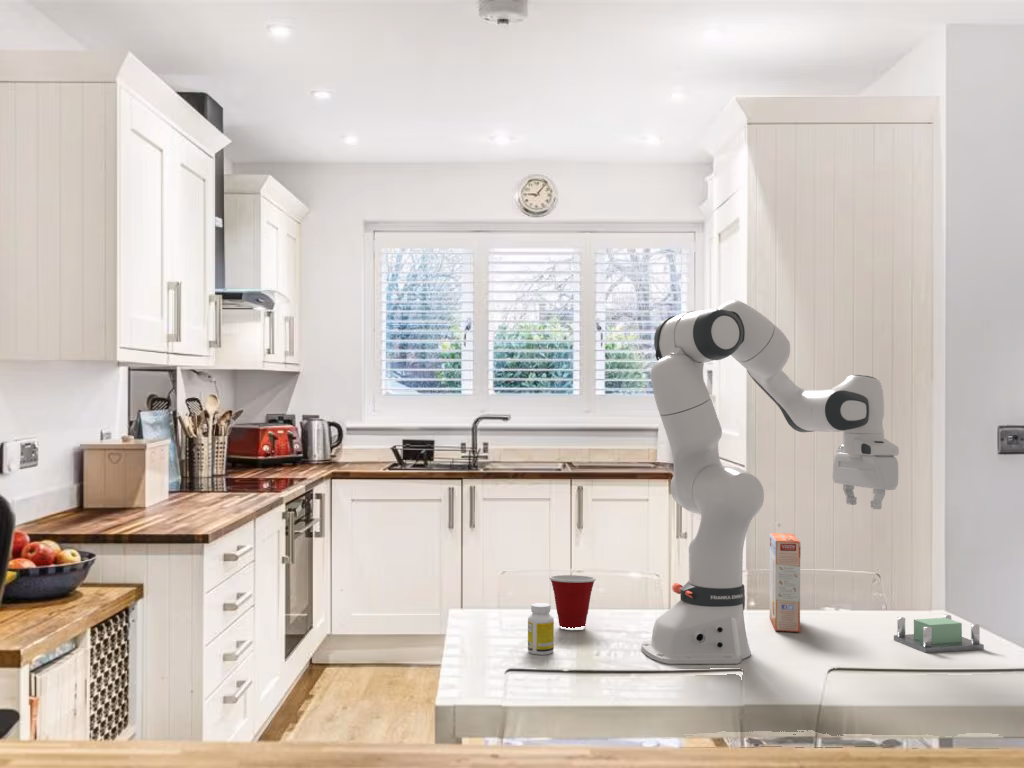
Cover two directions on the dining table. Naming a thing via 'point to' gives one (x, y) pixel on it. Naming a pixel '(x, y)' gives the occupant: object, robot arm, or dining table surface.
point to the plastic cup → (572, 598)
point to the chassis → (938, 647)
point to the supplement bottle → (540, 630)
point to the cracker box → (785, 582)
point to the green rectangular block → (939, 630)
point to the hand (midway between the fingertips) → (863, 506)
